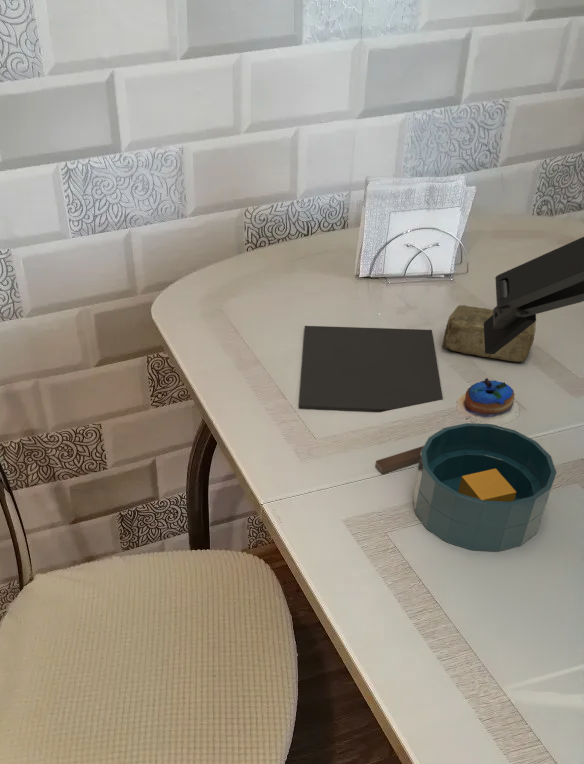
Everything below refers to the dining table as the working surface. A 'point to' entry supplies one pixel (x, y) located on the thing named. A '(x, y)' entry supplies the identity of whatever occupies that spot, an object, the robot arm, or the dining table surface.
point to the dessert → (488, 403)
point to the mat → (368, 369)
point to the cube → (487, 486)
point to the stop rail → (398, 461)
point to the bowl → (474, 516)
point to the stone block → (482, 335)
